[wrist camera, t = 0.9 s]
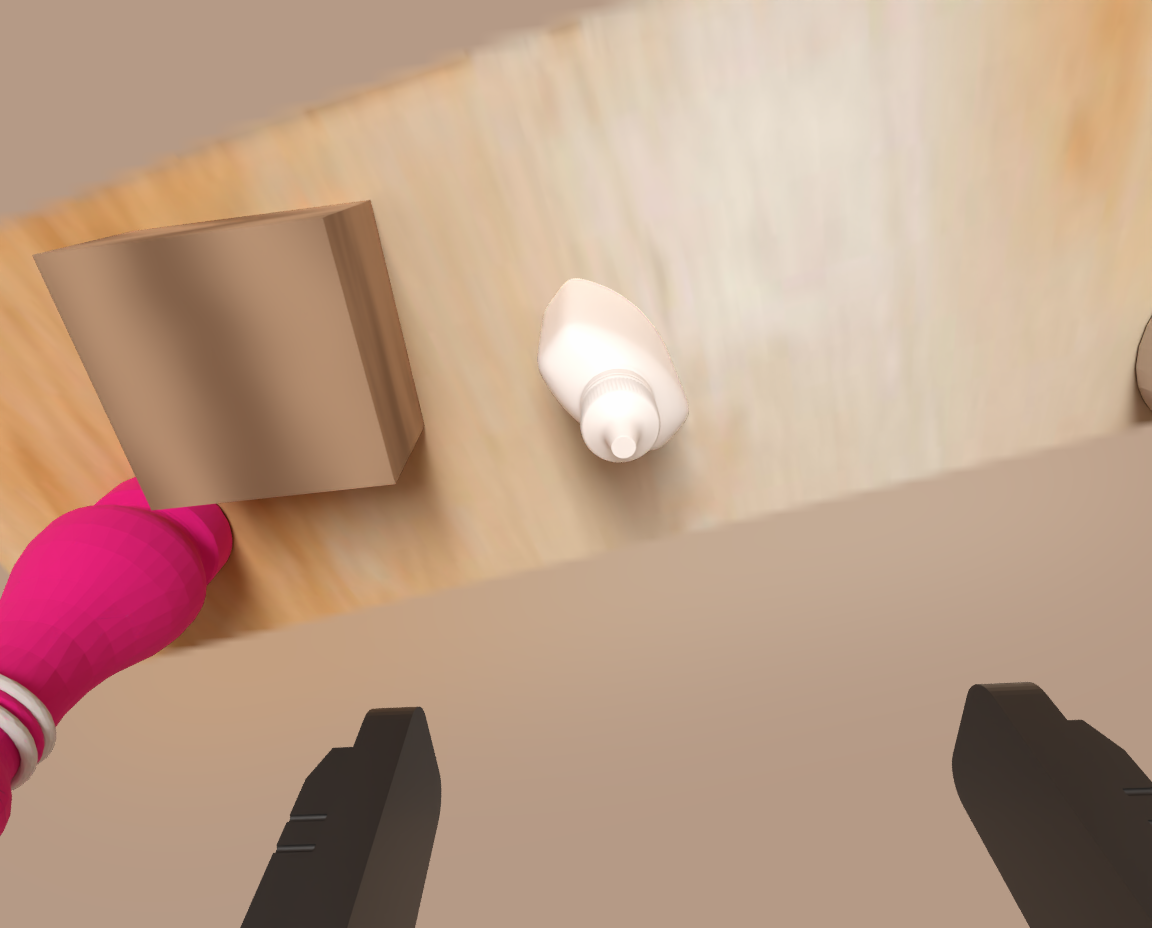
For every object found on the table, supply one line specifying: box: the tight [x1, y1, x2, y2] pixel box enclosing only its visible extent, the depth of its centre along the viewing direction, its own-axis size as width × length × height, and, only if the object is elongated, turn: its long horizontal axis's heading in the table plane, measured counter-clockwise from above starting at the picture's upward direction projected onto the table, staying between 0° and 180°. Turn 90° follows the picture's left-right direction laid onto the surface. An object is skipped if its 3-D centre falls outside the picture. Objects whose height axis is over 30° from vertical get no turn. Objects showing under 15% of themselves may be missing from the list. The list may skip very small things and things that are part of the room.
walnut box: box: [32, 200, 424, 510], centre depth 27 cm, size 10×10×6 cm
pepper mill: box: [0, 477, 232, 835], centre depth 25 cm, size 7×7×20 cm
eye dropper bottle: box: [537, 278, 689, 463], centre depth 24 cm, size 4×6×12 cm
